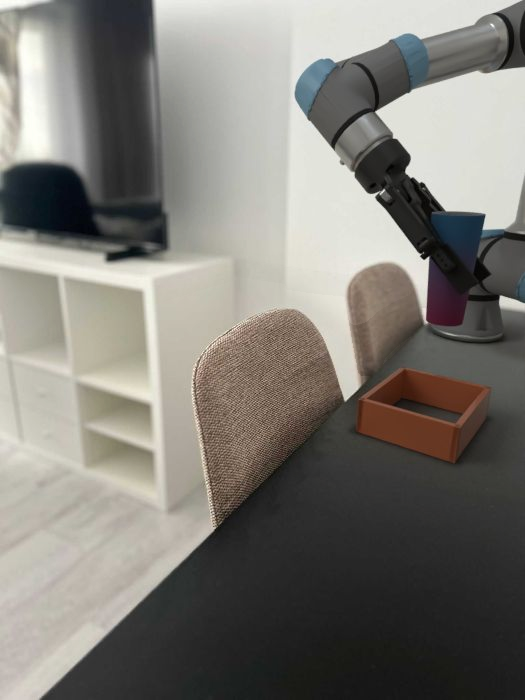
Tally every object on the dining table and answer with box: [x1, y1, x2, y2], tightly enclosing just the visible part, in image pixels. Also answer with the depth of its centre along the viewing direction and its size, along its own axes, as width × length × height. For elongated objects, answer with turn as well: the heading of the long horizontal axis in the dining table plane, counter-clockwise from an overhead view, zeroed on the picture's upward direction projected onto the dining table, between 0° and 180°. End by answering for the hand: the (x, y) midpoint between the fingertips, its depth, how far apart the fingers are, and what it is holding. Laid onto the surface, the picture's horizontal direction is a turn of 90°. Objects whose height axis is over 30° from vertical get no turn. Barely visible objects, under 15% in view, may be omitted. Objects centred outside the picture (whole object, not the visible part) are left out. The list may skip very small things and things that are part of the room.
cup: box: [425, 210, 487, 326], centre depth 71 cm, size 7×7×15 cm
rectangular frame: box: [355, 366, 492, 464], centre depth 73 cm, size 16×14×5 cm
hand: (476, 284), depth 69 cm, fingers closed on cup, 6 cm apart
